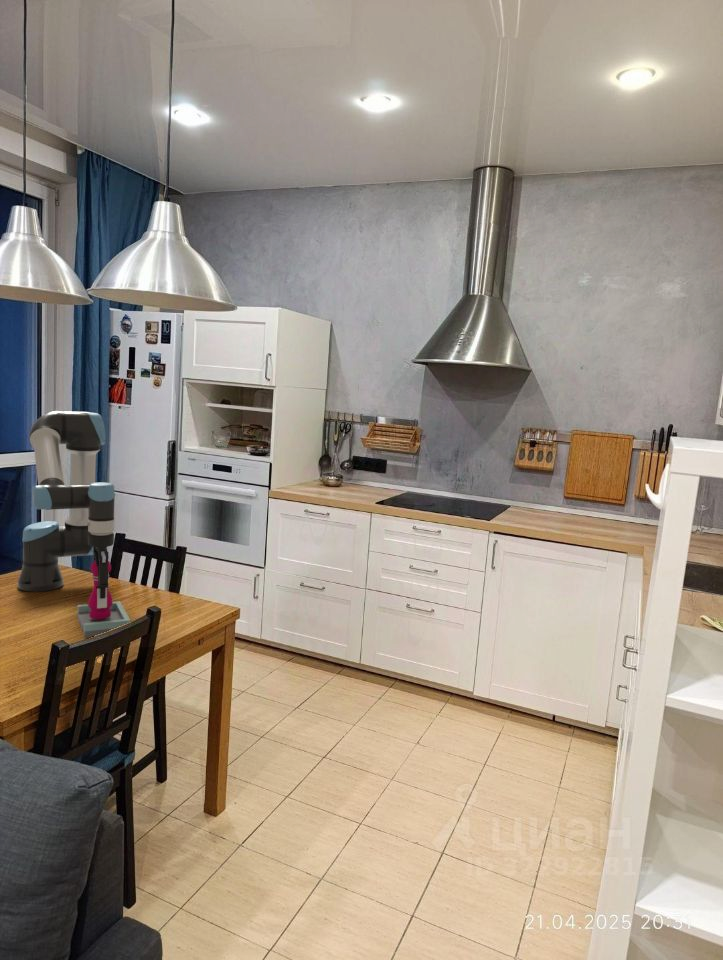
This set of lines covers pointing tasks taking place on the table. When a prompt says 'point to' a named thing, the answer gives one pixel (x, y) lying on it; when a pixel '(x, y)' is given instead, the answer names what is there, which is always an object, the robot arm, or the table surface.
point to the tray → (101, 620)
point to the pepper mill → (92, 602)
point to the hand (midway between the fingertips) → (100, 603)
